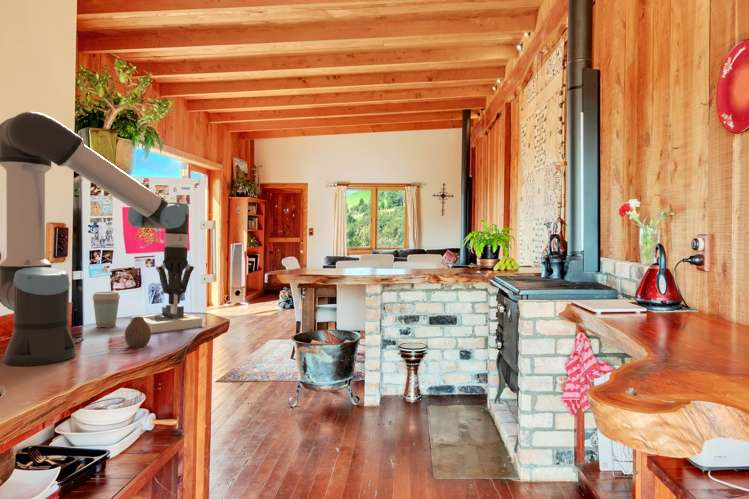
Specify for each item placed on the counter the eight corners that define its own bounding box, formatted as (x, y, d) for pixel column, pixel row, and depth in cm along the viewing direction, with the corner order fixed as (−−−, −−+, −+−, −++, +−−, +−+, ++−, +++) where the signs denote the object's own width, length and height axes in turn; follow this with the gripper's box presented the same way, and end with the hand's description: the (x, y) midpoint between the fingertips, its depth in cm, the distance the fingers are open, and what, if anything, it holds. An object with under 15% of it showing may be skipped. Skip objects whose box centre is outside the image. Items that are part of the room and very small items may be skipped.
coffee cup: (124, 324, 168) (125, 291, 168) (109, 329, 159) (109, 294, 159) (102, 323, 169) (103, 290, 168) (86, 328, 160) (86, 293, 160)
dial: (149, 320, 167) (150, 303, 167) (170, 318, 174) (170, 301, 174) (169, 325, 160) (170, 307, 160) (190, 322, 167) (190, 305, 167)
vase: (146, 342, 142) (146, 314, 141) (154, 347, 137) (154, 317, 136) (121, 346, 137) (121, 316, 137) (128, 350, 132) (129, 320, 132)
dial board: (151, 333, 156) (152, 323, 155) (130, 325, 167) (130, 316, 167) (202, 326, 169) (202, 317, 169) (178, 319, 181) (178, 311, 181)
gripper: (163, 246, 155) (160, 316, 155) (198, 247, 165) (196, 313, 165) (153, 245, 160) (150, 313, 160) (188, 246, 170) (185, 310, 170)
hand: (173, 313), depth 163 cm, fingers closed
